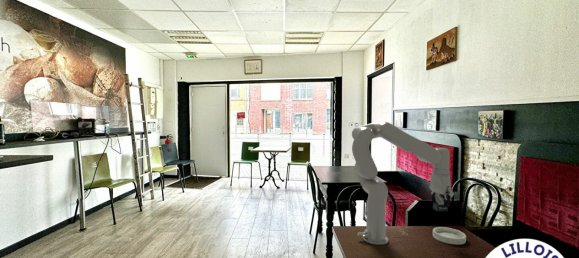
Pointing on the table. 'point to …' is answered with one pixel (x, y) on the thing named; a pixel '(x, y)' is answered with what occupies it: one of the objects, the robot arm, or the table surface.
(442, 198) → the watch
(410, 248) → the table surface
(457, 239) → the dish
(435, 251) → the table surface
